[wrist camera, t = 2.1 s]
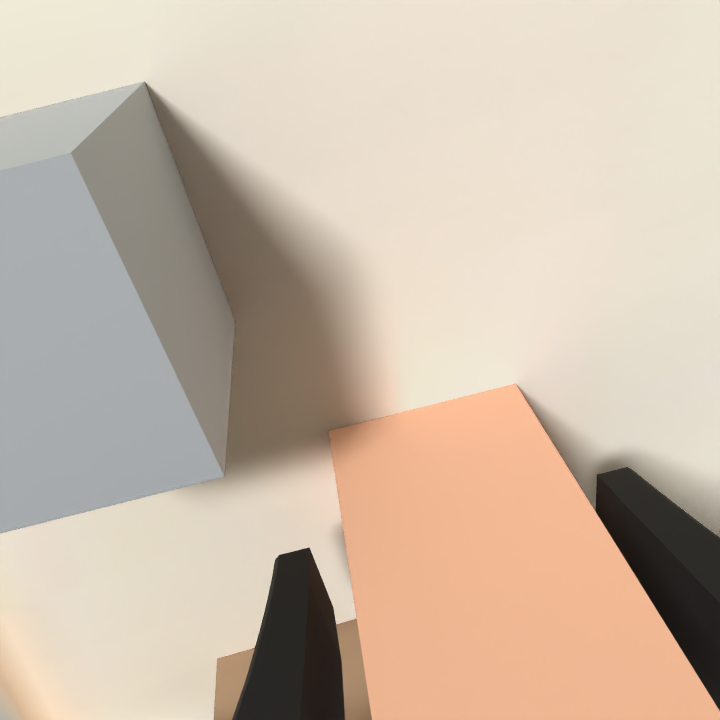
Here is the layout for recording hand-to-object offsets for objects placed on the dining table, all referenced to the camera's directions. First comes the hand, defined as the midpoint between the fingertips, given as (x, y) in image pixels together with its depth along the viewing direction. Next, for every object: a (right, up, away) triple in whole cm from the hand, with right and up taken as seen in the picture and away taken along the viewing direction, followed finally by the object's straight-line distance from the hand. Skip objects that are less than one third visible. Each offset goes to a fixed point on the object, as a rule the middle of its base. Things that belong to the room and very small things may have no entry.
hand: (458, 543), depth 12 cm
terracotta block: (0, +1, +2) cm, 2 cm away
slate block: (-7, +6, -2) cm, 9 cm away
